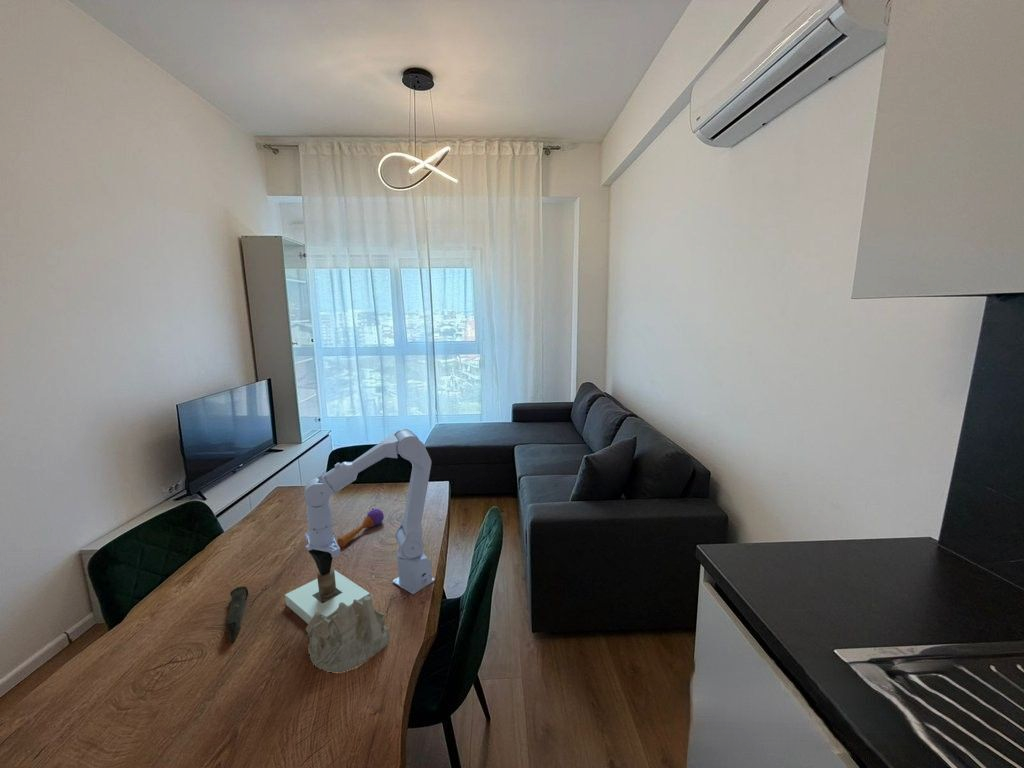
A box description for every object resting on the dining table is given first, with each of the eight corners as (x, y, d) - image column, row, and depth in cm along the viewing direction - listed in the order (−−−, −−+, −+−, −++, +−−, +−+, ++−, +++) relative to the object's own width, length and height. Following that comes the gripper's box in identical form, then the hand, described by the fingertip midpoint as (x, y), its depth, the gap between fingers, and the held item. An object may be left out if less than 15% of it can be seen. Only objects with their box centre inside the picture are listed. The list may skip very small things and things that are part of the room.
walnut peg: (340, 602, 114) (337, 571, 113) (326, 611, 111) (323, 579, 110) (331, 596, 117) (328, 566, 115) (317, 605, 113) (313, 574, 112)
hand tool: (232, 601, 116) (229, 586, 116) (249, 597, 118) (246, 581, 117) (218, 649, 99) (215, 631, 99) (238, 643, 101) (236, 625, 100)
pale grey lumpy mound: (398, 641, 100) (389, 582, 98) (329, 688, 88) (317, 622, 86) (366, 614, 110) (357, 561, 108) (301, 654, 99) (289, 594, 97)
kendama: (332, 534, 143) (372, 506, 161) (337, 550, 144) (376, 520, 162) (344, 534, 141) (384, 505, 159) (350, 551, 142) (388, 520, 160)
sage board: (370, 603, 114) (369, 593, 113) (319, 634, 103) (318, 623, 102) (335, 579, 125) (334, 569, 124) (286, 604, 114) (284, 594, 113)
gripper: (291, 523, 112) (297, 570, 114) (319, 539, 103) (324, 591, 105) (317, 513, 117) (322, 558, 119) (346, 528, 108) (350, 577, 110)
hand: (325, 573), depth 112 cm, fingers closed
